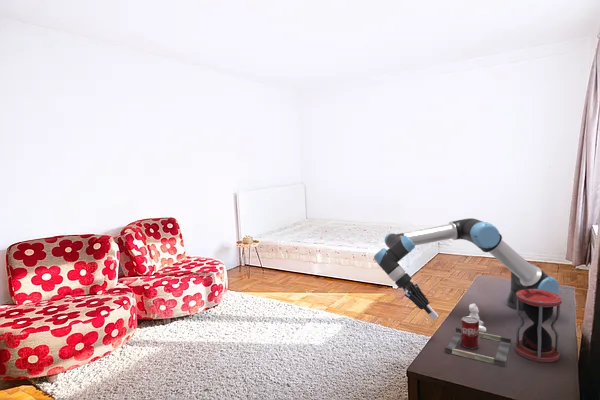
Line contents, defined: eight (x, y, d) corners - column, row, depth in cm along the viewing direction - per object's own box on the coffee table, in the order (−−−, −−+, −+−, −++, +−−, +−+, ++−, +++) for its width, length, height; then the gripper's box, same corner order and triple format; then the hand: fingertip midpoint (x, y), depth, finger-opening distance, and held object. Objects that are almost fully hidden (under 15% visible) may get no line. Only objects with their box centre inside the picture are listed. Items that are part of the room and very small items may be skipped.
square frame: (456, 331, 186) (456, 327, 186) (510, 342, 173) (511, 338, 173) (444, 352, 168) (444, 347, 168) (504, 366, 155) (504, 361, 155)
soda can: (480, 350, 168) (481, 323, 167) (462, 349, 170) (462, 322, 168) (476, 341, 175) (476, 316, 174) (459, 341, 177) (459, 315, 175)
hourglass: (555, 346, 168) (557, 290, 165) (563, 365, 154) (565, 304, 151) (513, 340, 175) (514, 286, 172) (516, 358, 160) (517, 300, 157)
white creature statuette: (487, 333, 183) (487, 308, 182) (467, 331, 185) (467, 307, 184) (482, 324, 192) (482, 300, 191) (463, 323, 194) (464, 300, 193)
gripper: (399, 277, 193) (434, 317, 186) (389, 286, 182) (426, 327, 175) (410, 268, 189) (445, 308, 182) (400, 276, 178) (438, 319, 171)
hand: (436, 317), depth 178 cm, fingers closed
